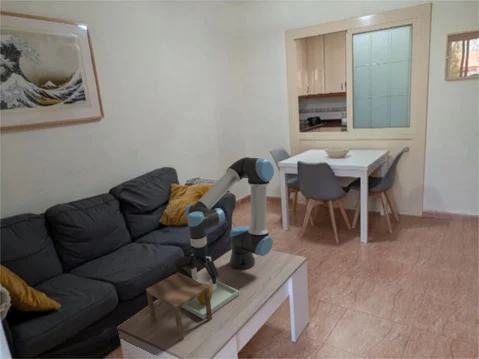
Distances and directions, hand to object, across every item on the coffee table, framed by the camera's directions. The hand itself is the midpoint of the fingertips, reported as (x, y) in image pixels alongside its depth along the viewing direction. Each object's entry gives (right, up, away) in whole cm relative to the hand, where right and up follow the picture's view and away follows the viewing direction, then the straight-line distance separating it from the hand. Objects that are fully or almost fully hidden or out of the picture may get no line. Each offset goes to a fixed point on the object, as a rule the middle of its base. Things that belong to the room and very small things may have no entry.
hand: (204, 284), depth 162 cm
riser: (-10, -14, -9) cm, 19 cm away
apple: (0, -9, +2) cm, 10 cm away
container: (-10, -9, +12) cm, 18 cm away
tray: (+2, -10, +4) cm, 11 cm away
